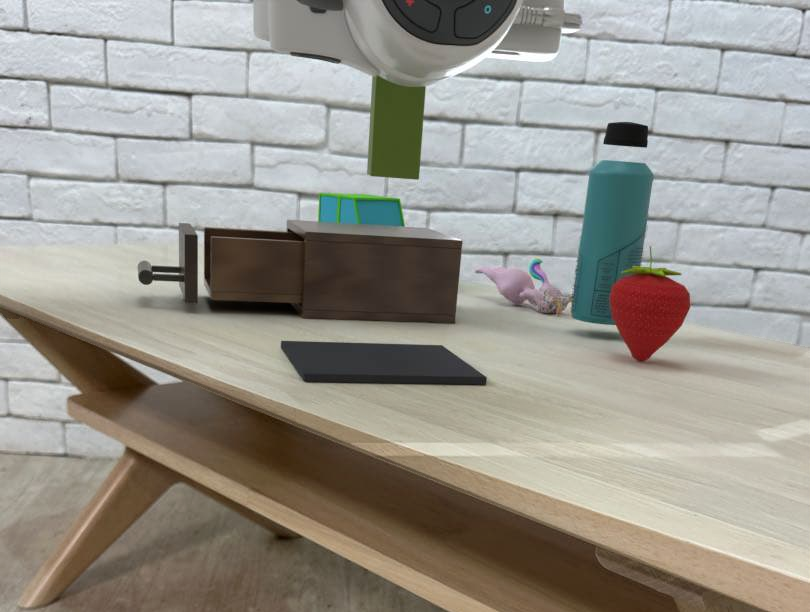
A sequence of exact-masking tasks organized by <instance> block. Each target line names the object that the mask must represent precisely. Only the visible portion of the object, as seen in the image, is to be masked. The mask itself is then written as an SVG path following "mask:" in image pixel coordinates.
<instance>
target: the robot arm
mask: <svg viewBox="0 0 810 612" xmlns="http://www.w3.org/2000/svg"><path fill="white" fill-rule="evenodd" d="M565 5H566V0H253V1H252V7H253V8H252V12H253V13H252V15H253V16H252V18H253V19H252V21H253V22H252V23H253V24H252V28H253V31H252V32H253V35H254V37H255V38H257V39H259V40H262V41H265V42H269V45H270V46H269V47H270V48H271V49H272V51H274V52H276V53H278V54H281V55H284V54H285V55H290V56H291V57H297V58H305V59H312V60H317V61H323V62H328V63H332V64H336V65H340V64H341V65H344V66H347V67H350V68H352V69H355V70H357V71H360V72H361V73H364V74H367V75H368V76H370V77H372V76H374V77H377V76H380V77H382V78H384V79H385V80H387V81H390V82H392V83H395V84H398V85H402V86H408V87H424V86H426V87H429V86H434V85H436V84H439V83H441V82H444V81H446V80H448V79H450V78H452V77H454V76H456V75H458V74H460V73H462V72H465V71H466V70H468V69H470V68H472V67H474V66H475V65H477V64H478V63H479V62H481V61H483V60H484V59H485V58H488V59H489V58H490V59H501V60H512V61H522V62H535V63H536V62H539V63H540V62H548V61H552V60H553V59H555V58H556V56H557V55H558V54H559V52H560V48H561V47H560V46H561V40H562V38H561V37H562V34H573V33H576V32H578V31H580V30H581V29H582V28H581V27H582V26H583V23H584V21H583V15H582V14H580V13H574V12H573V13H572V12H566V10H565Z"/></svg>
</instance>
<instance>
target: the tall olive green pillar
mask: <svg viewBox="0 0 810 612" xmlns="http://www.w3.org/2000/svg"><path fill="white" fill-rule="evenodd" d="M426 89H427V86H424V87H408V86H402V85H398V84H395V83H392V82H390V81H387V80H385V79H384V78H382V77H380V76H377V77H374V76H371V90H370V91H371V94H370V95H371V96H370V109H369V112H370V113H369V129H368V147H367V150H368V151H367V164H366V165H367V166H366V168H367V169H366V174H367V175H369V176H370V177H378V178H387V179H388V178H389V179H404V180H415V181H418V180H420V171H421V159H422V158H421V156H422V145H423V144H422V143H423V130H424V116H425V105H426V104H425V103H426V102H425V101H426V91H427V90H426Z"/></svg>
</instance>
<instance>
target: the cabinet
mask: <svg viewBox="0 0 810 612" xmlns="http://www.w3.org/2000/svg"><path fill="white" fill-rule="evenodd" d="M285 232H295V233H296V234H298V235H299V236H301V237H302V238H304V239H305V240H304V264H303V291H302V303H289V304H290V305H291V306H292V308H293V309H294V310H295V311H296V312H297V313H298V314H299V316H300V317H301V318H302V319H319V320H320V319H325V320H353V321H354V320H355V321H380V322H381V321H382V322H406V323H407V322H411V323H416V322H417V323H438V324H442V323H443V324H455V323H456V316H457V307H458V306H457V304H458V295H459V283H460V273H461V272H460V271H461V263H462V252H463V242H464V241H463V240H462V239H459V238H456V237H454V236H451V235H448V234H445V233H443V232H440V231H437V230H435V229H431V228H429V227H416V226H415V227H414V226H405V227H402V226H385V225H368V224H351V223H335V222H318V220H317V221H315V220H302V219H301V220H300V219H286V231H285Z"/></svg>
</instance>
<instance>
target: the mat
mask: <svg viewBox="0 0 810 612" xmlns="http://www.w3.org/2000/svg"><path fill="white" fill-rule="evenodd" d="M280 349H281V350H282V352H283V353H284V354H285V356H286V358H287V359H288V360H289V362H290V364H291V365H292V366H293V368H294V369H295V370H296V372H297V373H298V375H299V377H300V378H301V379H302V380H303V382H306V383H307V382H308V383H309V382H312V383H317V382H318V383H361V384H362V383H364V384H365V383H367V384H368V383H370V384H372V383H373V384H425V385H426V384H428V385H478V386H479V385H481V386H482V385H483V386H485V385H487V380H488V377H487V376H486V375H484V374H483V373H482V372H480V371H479V370H477V368H475V367H473V366H472V365H471V364H469V363H468V362H467V361H465V360H464V359H462V358H461V357H459V356H458V355H457V354H455V353H454V352H452V351H451V350H449V349H448V348H447V347H445V346H444V345H442V344H417V343H416V344H413V343H410V344H409V343H376V342H341V341H340V342H339V341H309V340H308V341H304V340H281V341H280Z"/></svg>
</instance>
